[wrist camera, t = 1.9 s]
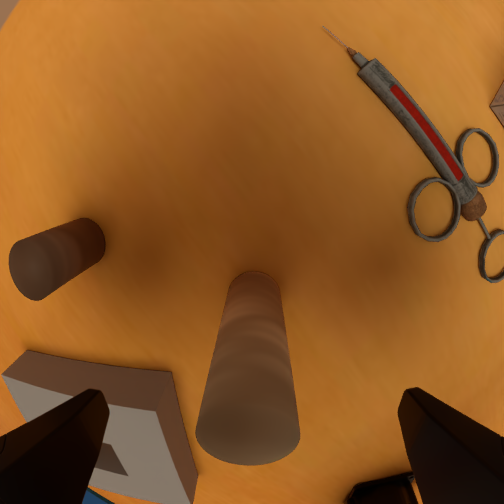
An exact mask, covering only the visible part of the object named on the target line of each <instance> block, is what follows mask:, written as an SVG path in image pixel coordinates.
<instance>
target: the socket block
mask: <svg viewBox="0 0 504 504" xmlns="http://www.w3.org/2000/svg"><path fill="white" fill-rule="evenodd" d="M1 375H2V377H3V379H4V381H5V383H6V385H7V387H8V389H9V391H10V393H11V395H12V397H13V399H14V401H15V402H16V404H17V406H18V408H19V410H20V411H21V413H22V415H23V417H24V418H25V420H26V422H29V421H31V420H33V419H35V418H36V417H38V416H40V415H42V414H44V413H46V412H47V411H49V410H51V409H53V408H55V407H56V406H58V405H60V404H62V403H64V402H65V401H67V400H69V399H71V398H73V397H74V396H76V395H78V394H80V393H81V392H83V391H85V390H87V389H89V388H93V389H98V390H101V391H102V392H103V394H104V397H105V399H106V402H107V404H108V407H109V410H110V416H109V420H108V423H107V427H106V431H105V435H104V439H103V443H102V447H101V450H100V454H99V457H98V460H97V462H96V465H95V468H94V471H93V473H92V476H91V479H90V482H89V485H90V486H93V487H97V488H100V489H103V490H106V491H110V492H114V493H117V494H121V495H125V496H129V497H133V498H138V499H142V500H147V501H152V502H157V503H163V504H193V501H194V495H195V490H196V484H197V479H198V474H197V471H196V467H195V464H194V461H193V457H192V454H191V450H190V447H189V443H188V440H187V436H186V432H185V428H184V424H183V421H182V417H181V413H180V408H179V404H178V400H177V396H176V391H175V387H174V382H173V378H172V373H171V372H165V371H154V370H143V369H134V368H125V367H117V366H110V365H103V364H96V363H90V362H84V361H78V360H72V359H67V358H62V357H57V356H52V355H47V354H42V353H38V352H33V351H29V350H26V351H25V352H24V353H23V354H22V355H21V356H20V357H19V358H18V359H17V360H16V361H15V362H14V363H13V364H12V365H11V366H10V367H9V368H8V369H7V370H5V371H4V372H3V373H2V374H1Z"/></svg>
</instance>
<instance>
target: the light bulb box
mask: <svg viewBox="0 0 504 504" xmlns="http://www.w3.org/2000/svg"><path fill="white" fill-rule="evenodd" d="M490 108H491V109H492V110H493V111H494V113H495V114H496V116H497V117H498V119H499V120H500V122H501V123H502V125H503V126H504V82H503V84H502V85H501V87H500V89H499V91H498V93H497V95H496V96H495V98H494V100H493V102H492V103H491V105H490Z"/></svg>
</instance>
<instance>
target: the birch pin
mask: <svg viewBox="0 0 504 504" xmlns="http://www.w3.org/2000/svg"><path fill="white" fill-rule="evenodd" d="M195 433H196V438H197V441H198V443H199V444H200V446H201V447H202V448H203V449H204V450H205V451H206V452H207V453H209V454H210V455H212V456H214V457H215V458H217V459H220V460H222V461H225V462H228V463H233V464H238V465H262V464H267V463H271V462H275V461H277V460H280V459H282V458H284V457H285V456H287V455H289V454H290V453H291V452H292V451H293V450H294V449H295V448H296V446H297V445H298V443H299V440H300V428H299V421H298V413H297V406H296V398H295V391H294V384H293V377H292V370H291V363H290V356H289V349H288V342H287V335H286V329H285V322H284V315H283V309H282V302H281V296H280V290H279V287H278V285H277V283H276V282H275V281H274V280H273V279H272V278H271V277H270V276H268V275H266V274H264V273H261V272H247V273H244V274H242V275H240V276H238V277H237V278H236V279H235V280H234V281H233V282H232V283H231V285H230V287H229V291H228V295H227V299H226V303H225V307H224V311H223V315H222V319H221V324H220V328H219V332H218V336H217V340H216V344H215V349H214V353H213V357H212V361H211V365H210V370H209V374H208V378H207V382H206V387H205V391H204V395H203V400H202V404H201V408H200V413H199V417H198V421H197V426H196V432H195Z"/></svg>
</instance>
